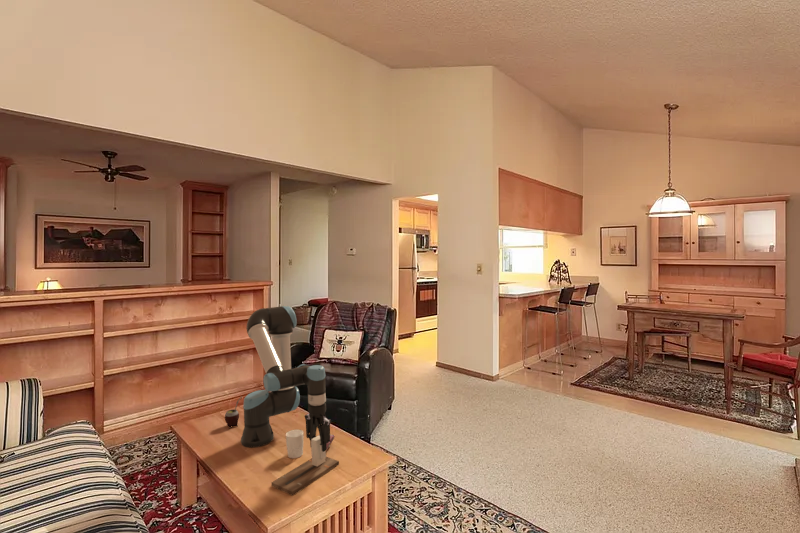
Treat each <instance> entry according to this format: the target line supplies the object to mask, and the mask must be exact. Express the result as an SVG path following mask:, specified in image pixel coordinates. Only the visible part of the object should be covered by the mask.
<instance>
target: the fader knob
mask: <svg viewBox="0 0 800 533" xmlns="http://www.w3.org/2000/svg"><path fill="white" fill-rule="evenodd" d="M320 443H321V440H320V435H317V436H316V437H315V438H313V439H311V446H312V454H311V458H312V465H314V466H319V465H321V464H322V463H324V462H325V461H326V459H325V458H323V459H322V460H321V459H320ZM311 446H310V447H311Z"/></svg>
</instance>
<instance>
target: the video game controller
mask: <svg viewBox="0 0 800 533" xmlns="http://www.w3.org/2000/svg"><path fill="white" fill-rule="evenodd" d="M335 436H336V435H334V434H331V433H330V442H328V443H327V444H326V448H327V449H326V451H327V450H328V449H329V448H330V447H331V446H332V443H333V441H335V440H334V439H335Z"/></svg>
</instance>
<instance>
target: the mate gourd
mask: <svg viewBox="0 0 800 533" xmlns="http://www.w3.org/2000/svg"><path fill="white" fill-rule="evenodd" d="M242 398H243V396H240V397H239V398H238V400H237V401H236V404H235V408H234V409H230V410H227V411H226V412H225V414H224V420H225V422H226V426H227V425H228V426H227V427H231V426H237V427H238V426H239V425H238V422H239V420H240V419H239V418H240V413H239V411H238V410H237V407H238V404H239V401H240V400H241V399H242ZM231 428H232V427H231Z"/></svg>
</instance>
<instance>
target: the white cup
mask: <svg viewBox="0 0 800 533" xmlns="http://www.w3.org/2000/svg"><path fill="white" fill-rule="evenodd" d="M285 444H286V451H287V457H288V458H289V459H297V458H301V457H302V456H303V454H304V430H302V429H292V430H289V431H286V433H285Z"/></svg>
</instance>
